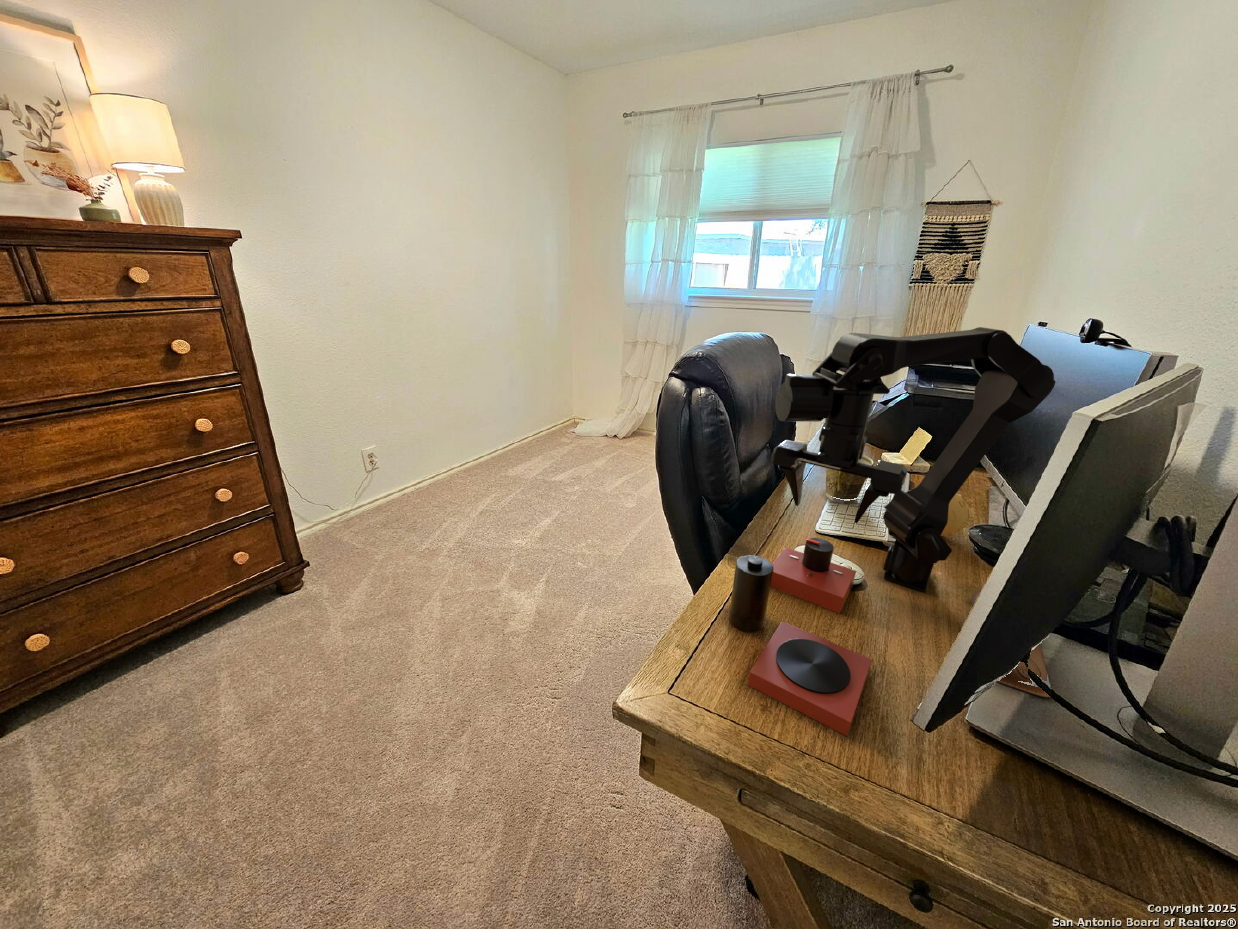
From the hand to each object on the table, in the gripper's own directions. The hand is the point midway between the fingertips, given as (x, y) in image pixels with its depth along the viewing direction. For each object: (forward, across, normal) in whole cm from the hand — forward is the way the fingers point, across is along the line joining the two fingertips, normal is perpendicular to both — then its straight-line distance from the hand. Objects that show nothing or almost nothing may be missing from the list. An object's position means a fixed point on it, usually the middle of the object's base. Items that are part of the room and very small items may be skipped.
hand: (825, 513), depth 78 cm
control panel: (+13, 0, +2) cm, 13 cm away
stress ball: (+13, -15, -32) cm, 38 cm away
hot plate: (+13, -6, +22) cm, 27 cm away
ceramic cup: (+13, +4, -36) cm, 38 cm away
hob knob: (+10, 0, 0) cm, 10 cm away
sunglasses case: (+13, -27, -1) cm, 30 cm away
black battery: (+13, +5, +17) cm, 22 cm away
